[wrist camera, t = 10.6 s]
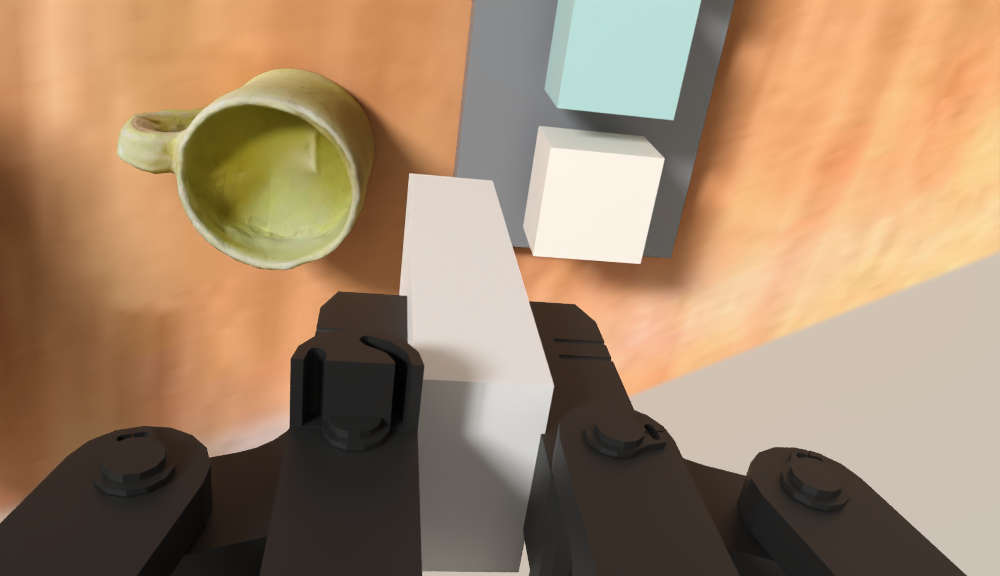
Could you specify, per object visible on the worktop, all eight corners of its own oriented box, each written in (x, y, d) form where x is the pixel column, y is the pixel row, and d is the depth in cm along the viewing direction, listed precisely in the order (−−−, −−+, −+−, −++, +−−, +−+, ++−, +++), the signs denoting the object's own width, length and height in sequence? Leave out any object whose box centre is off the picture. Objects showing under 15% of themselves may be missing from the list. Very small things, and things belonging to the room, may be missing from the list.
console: (447, 228, 49) (452, 264, 45) (502, -271, 38) (515, -292, 33) (661, 245, 52) (686, 281, 47) (774, -223, 40) (821, -236, 36)
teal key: (544, 89, 42) (557, 108, 39) (562, -31, 40) (578, -22, 36) (651, 100, 43) (673, 120, 40) (676, -16, 41) (702, -6, 37)
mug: (431, 92, 44) (369, 183, 36) (367, 221, 50) (303, 321, 42) (228, -25, 42) (118, 43, 34) (189, 123, 48) (89, 209, 41)
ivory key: (523, 227, 46) (533, 255, 42) (538, 125, 43) (550, 147, 40) (622, 235, 47) (640, 263, 43) (643, 136, 44) (664, 158, 41)
